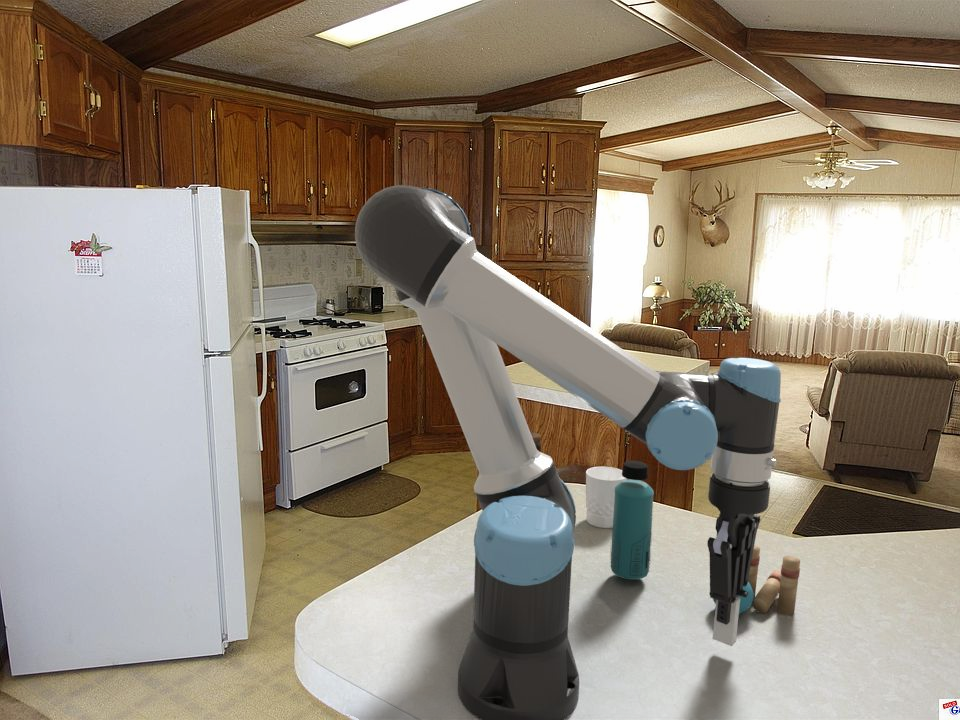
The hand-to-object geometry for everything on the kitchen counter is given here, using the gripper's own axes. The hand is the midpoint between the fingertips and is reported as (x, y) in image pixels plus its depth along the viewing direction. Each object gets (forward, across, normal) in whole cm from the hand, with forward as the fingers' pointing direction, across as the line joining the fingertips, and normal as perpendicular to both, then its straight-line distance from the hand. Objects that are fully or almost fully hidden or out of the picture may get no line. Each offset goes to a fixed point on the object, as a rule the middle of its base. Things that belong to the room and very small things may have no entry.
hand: (724, 640), depth 101 cm
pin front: (+1, +14, 0) cm, 14 cm away
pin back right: (+2, +18, -3) cm, 18 cm away
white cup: (+2, +28, +35) cm, 45 cm away
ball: (-1, +12, +3) cm, 12 cm away
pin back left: (+2, +18, +3) cm, 18 cm away
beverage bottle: (+2, +10, +20) cm, 23 cm away
